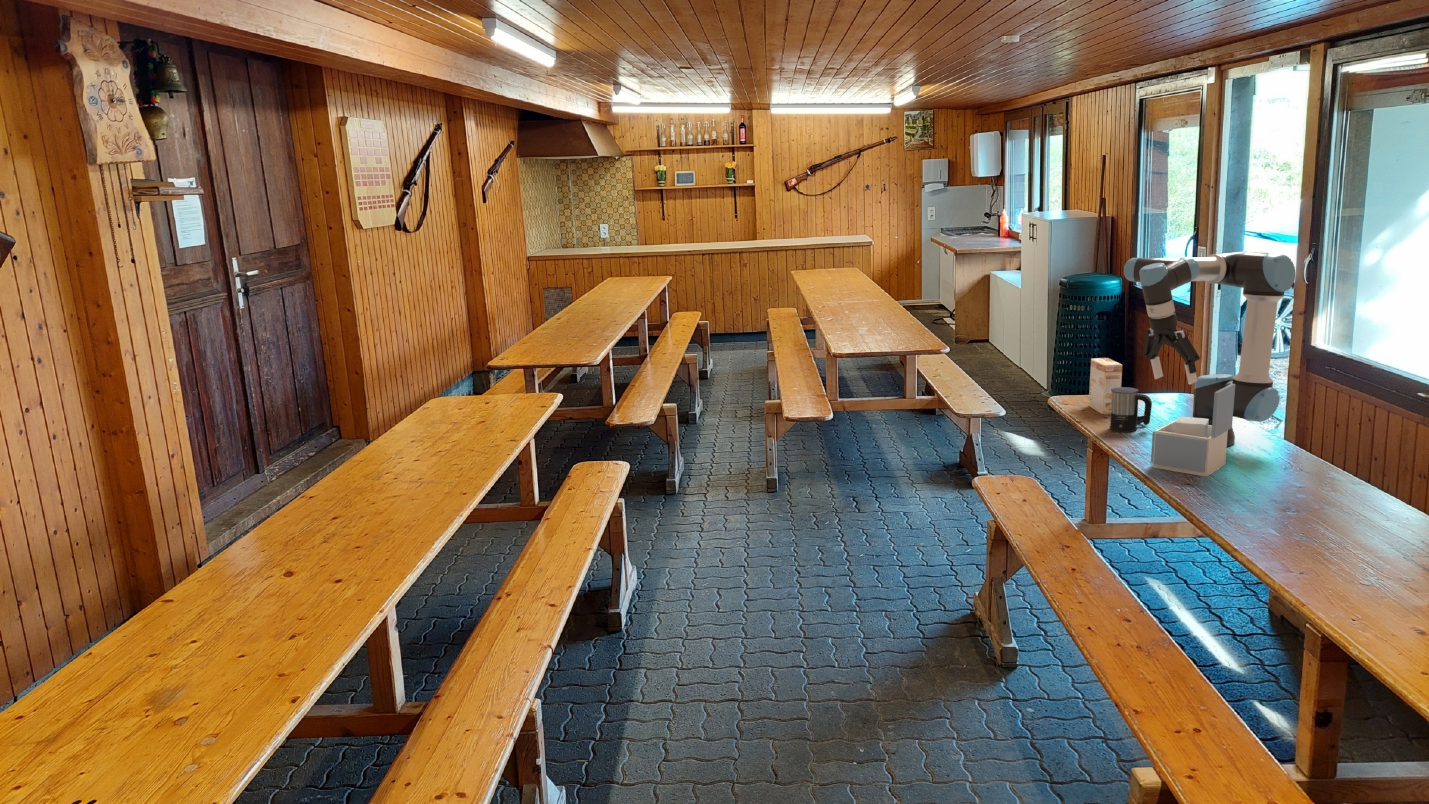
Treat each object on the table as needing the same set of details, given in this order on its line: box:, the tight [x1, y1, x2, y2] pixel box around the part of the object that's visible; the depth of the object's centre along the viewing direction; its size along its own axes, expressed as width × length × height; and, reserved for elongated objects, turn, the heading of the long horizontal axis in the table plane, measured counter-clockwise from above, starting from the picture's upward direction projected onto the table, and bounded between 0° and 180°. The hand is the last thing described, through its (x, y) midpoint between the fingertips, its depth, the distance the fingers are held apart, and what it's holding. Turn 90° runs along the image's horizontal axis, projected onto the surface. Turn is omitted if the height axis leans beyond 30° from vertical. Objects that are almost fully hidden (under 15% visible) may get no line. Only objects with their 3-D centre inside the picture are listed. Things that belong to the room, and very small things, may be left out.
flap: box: [1211, 384, 1235, 438], centre depth 301 cm, size 1×15×14 cm, turn 135°
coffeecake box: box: [1088, 357, 1123, 415], centre depth 384 cm, size 15×7×20 cm, turn 179°
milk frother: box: [1109, 386, 1153, 433], centre depth 358 cm, size 14×16×15 cm
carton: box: [1150, 420, 1228, 477], centre depth 311 cm, size 17×18×12 cm
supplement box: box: [1175, 416, 1209, 438], centre depth 310 cm, size 9×9×15 cm
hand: (1175, 380), depth 301 cm, fingers open, 13 cm apart
